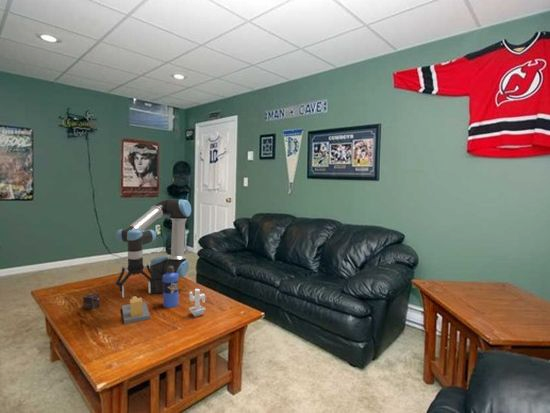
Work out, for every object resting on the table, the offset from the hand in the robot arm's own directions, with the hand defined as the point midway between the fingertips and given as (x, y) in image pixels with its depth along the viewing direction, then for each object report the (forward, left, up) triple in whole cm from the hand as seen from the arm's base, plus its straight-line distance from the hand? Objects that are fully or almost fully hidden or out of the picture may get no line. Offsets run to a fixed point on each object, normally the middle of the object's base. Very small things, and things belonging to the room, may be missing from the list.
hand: (136, 294), depth 171 cm
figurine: (-31, +12, -13) cm, 36 cm away
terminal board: (0, -5, -13) cm, 14 cm away
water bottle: (-20, -9, -13) cm, 26 cm away
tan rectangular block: (0, 0, -11) cm, 11 cm away
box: (+23, -27, -14) cm, 38 cm away
